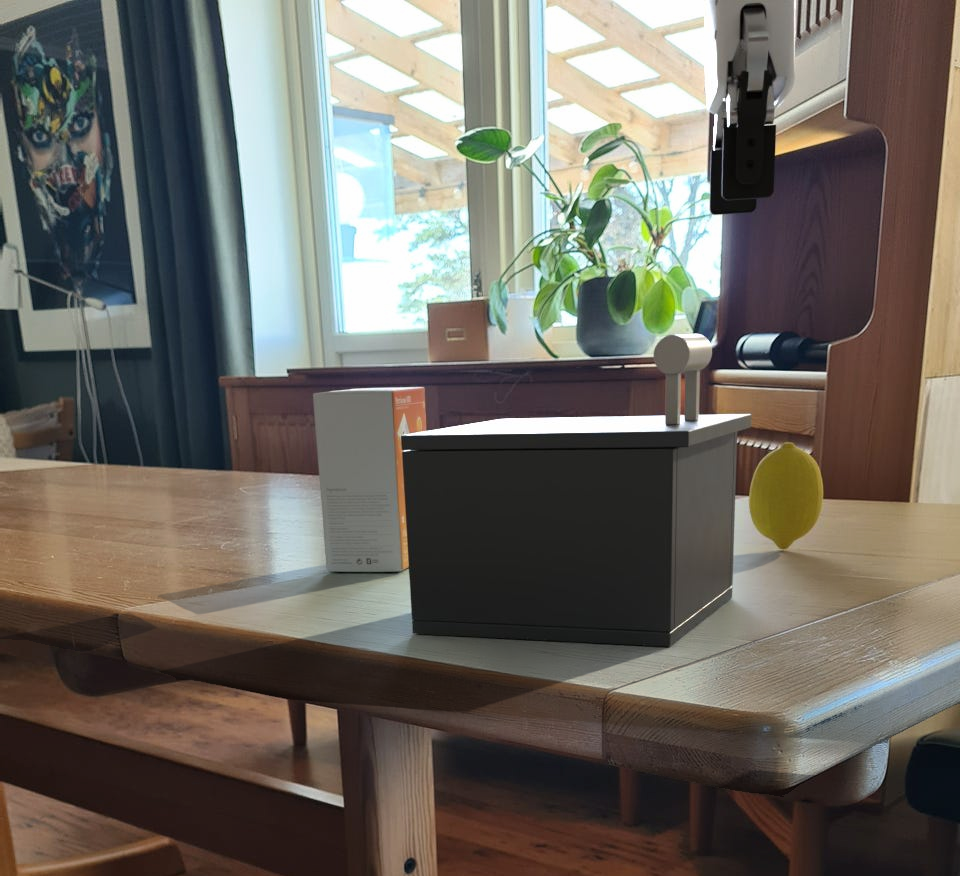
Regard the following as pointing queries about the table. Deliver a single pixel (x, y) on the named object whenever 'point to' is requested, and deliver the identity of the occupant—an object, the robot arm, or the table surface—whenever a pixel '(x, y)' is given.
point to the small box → (365, 474)
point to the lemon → (786, 495)
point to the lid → (606, 432)
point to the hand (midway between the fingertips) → (739, 206)
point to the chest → (570, 541)
